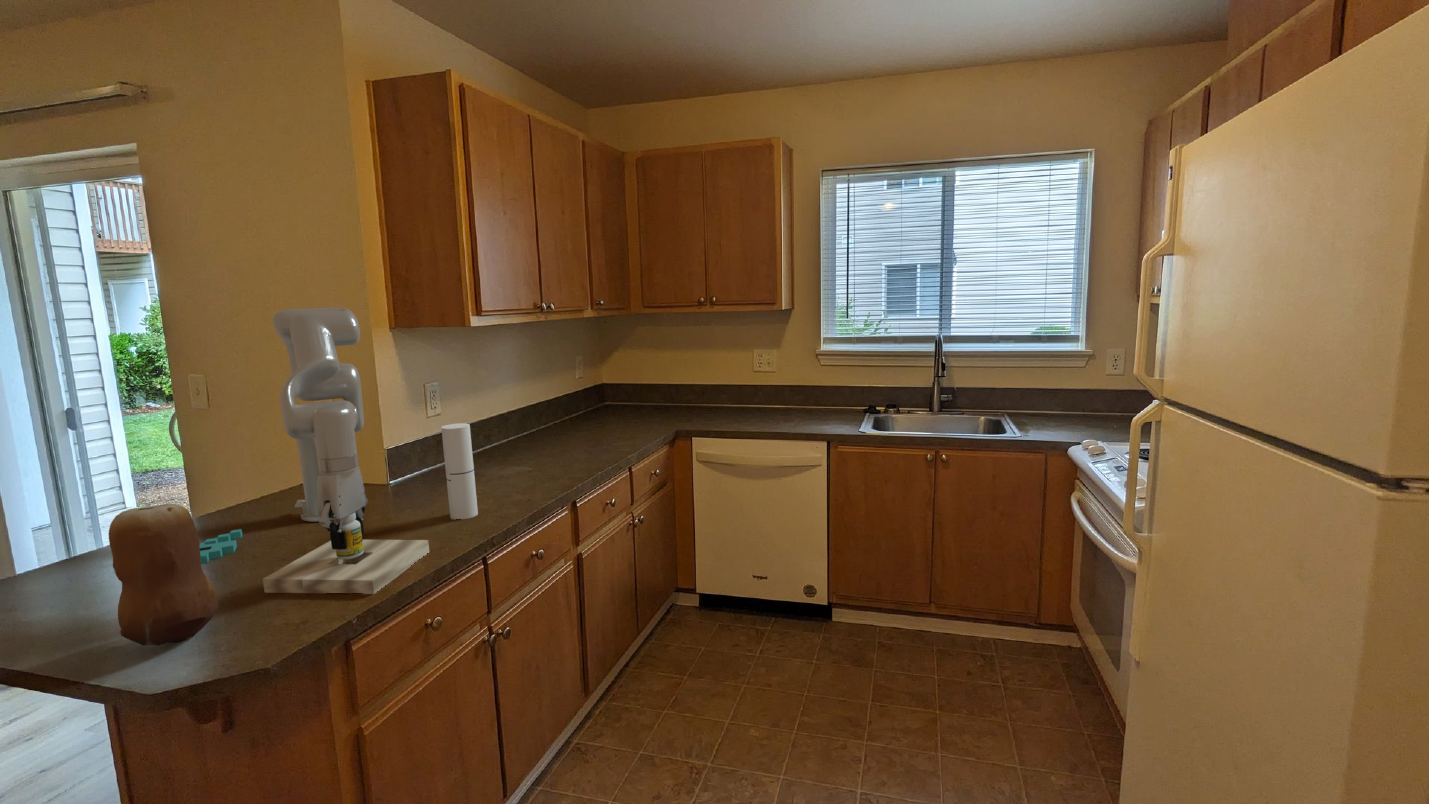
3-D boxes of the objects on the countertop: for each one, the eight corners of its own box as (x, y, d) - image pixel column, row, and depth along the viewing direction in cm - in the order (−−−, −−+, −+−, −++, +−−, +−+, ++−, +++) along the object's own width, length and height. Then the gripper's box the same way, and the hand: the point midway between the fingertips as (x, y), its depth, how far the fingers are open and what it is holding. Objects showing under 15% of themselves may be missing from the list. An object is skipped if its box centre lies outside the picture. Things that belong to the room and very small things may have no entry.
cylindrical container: (468, 520, 179) (460, 428, 175) (444, 519, 181) (435, 428, 177) (483, 511, 186) (474, 423, 182) (459, 510, 188) (451, 423, 184)
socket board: (264, 592, 138) (262, 578, 138) (333, 551, 160) (332, 539, 159) (374, 594, 136) (372, 580, 136) (429, 552, 158) (428, 540, 157)
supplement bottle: (344, 551, 150) (339, 510, 148) (368, 550, 150) (363, 509, 149) (331, 560, 145) (326, 518, 143) (356, 559, 145) (351, 517, 143)
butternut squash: (186, 617, 128) (165, 492, 124) (239, 625, 125) (218, 496, 120) (103, 655, 115) (76, 516, 111) (159, 665, 112) (133, 522, 107)
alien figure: (144, 553, 164) (118, 583, 146) (142, 544, 164) (116, 573, 146) (242, 537, 173) (229, 563, 156) (241, 528, 173) (228, 554, 155)
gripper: (347, 453, 153) (356, 529, 156) (294, 474, 136) (305, 558, 139) (378, 453, 152) (387, 529, 155) (328, 474, 135) (339, 559, 138)
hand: (348, 542), depth 147 cm, fingers closed on supplement bottle, 5 cm apart
